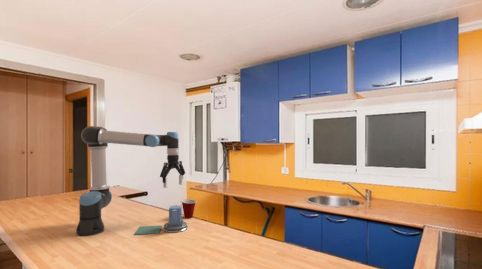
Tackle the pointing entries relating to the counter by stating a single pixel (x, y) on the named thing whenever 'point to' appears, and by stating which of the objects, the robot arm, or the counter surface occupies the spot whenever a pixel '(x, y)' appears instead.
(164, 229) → the turntable base
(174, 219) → the blue block
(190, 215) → the plastic cup
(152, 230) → the plate
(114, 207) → the counter surface
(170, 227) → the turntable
